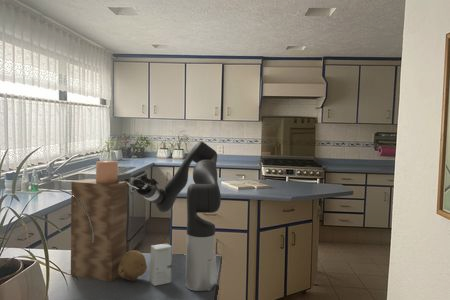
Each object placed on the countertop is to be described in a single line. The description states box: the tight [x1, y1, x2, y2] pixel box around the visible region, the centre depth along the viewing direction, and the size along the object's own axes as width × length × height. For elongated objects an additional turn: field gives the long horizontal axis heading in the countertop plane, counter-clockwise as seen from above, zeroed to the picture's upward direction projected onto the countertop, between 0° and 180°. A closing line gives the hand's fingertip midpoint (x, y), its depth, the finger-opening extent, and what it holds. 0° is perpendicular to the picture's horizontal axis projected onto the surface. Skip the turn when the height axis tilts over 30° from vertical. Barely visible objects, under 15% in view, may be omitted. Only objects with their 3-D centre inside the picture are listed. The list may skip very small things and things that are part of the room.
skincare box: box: [149, 243, 173, 286], centre depth 116 cm, size 6×4×12 cm
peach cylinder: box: [95, 160, 132, 184], centre depth 123 cm, size 7×16×7 cm, turn 164°
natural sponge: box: [118, 249, 148, 281], centre depth 116 cm, size 9×9×10 cm
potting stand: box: [70, 178, 128, 283], centre depth 121 cm, size 16×8×32 cm, turn 74°
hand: (131, 176), depth 135 cm, fingers open, 8 cm apart
